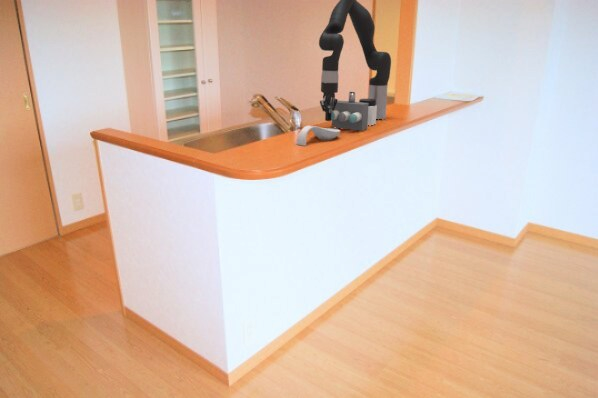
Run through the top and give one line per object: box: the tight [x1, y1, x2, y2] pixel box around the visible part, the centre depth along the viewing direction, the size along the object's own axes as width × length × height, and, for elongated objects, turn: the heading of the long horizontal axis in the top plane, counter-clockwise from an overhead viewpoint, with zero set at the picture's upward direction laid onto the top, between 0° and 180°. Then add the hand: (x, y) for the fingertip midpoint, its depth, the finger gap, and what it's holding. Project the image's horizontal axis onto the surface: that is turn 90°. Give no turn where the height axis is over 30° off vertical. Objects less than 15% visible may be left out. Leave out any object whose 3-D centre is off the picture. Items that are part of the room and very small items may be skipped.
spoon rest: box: [295, 125, 341, 147], centre depth 200 cm, size 24×12×7 cm, turn 142°
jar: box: [358, 98, 377, 126], centre depth 232 cm, size 9×8×12 cm
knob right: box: [349, 112, 362, 123], centre depth 218 cm, size 11×4×4 cm, turn 149°
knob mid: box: [338, 111, 350, 122], centre depth 221 cm, size 11×4×4 cm, turn 149°
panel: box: [331, 99, 369, 132], centre depth 223 cm, size 6×16×12 cm, turn 59°
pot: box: [348, 91, 356, 103], centre depth 222 cm, size 3×3×5 cm
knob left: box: [331, 110, 340, 121], centre depth 223 cm, size 11×4×4 cm, turn 149°
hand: (328, 120), depth 217 cm, fingers closed
